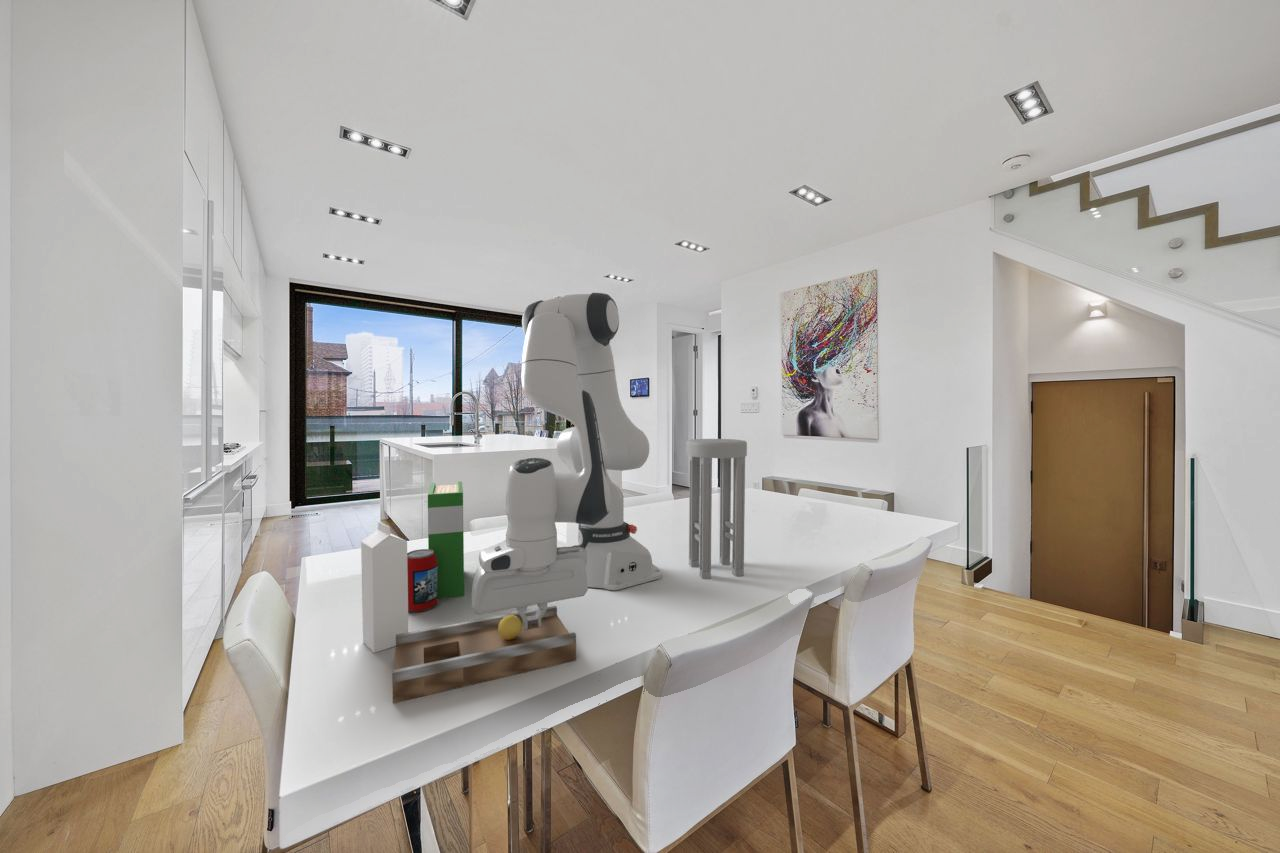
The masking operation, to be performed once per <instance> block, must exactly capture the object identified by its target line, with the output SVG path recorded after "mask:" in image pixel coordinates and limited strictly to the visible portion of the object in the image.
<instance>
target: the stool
mask: <svg viewBox="0 0 1280 853" xmlns="http://www.w3.org/2000/svg"><path fill="white" fill-rule="evenodd" d="M685 450H686V453H685V455H686V456H689V486H688V487H689V490H688V491H689V494H688V495H689V496H688V497H689V498H688V499H689V506H688V507H689V509H688V510H689V511H688V514H689V515H688V516H689V517H688V523H689V524H688V566H690V567H691V568H695V567H699V577H700V578H701V579H702V580H705V579H712V508H713V507H712V505H713V504H712V500H713V499H712V498H713V497H712V496H713V495H712V494H713V492H712V491H713V489H712V488H713V459H720V467H719V468H720V470H719V471H720V474H719V476H720V478H719V480H720V481H719V485H720V487H719V489H720V490H719V492H720V493H719V558H718V559H719V562H718V563H719V564H721V565H722V566H723V565H724V566H726V565H731V564H732V565H731V567H732V568H731V570H732V571H731V574H732V575H733V576H734V577H743V576H745V573H744V572H745V571H744V570H745V511H746V510H745V502H746V500H745V498H746V497H745V496H746V457H747V456H748V442H747V440H741V439H731V438H694V439H689V440H687V441H686V449H685ZM732 459H733V465H732ZM732 466H733V468H732ZM732 470H733V475H732ZM732 476H733V478H732ZM732 479H733V480H732ZM732 481H733V482H732ZM732 483H733V484H732ZM731 495H732V496H731ZM731 501H732V502H731ZM731 503H732V504H731ZM731 506H732V508H731ZM731 510H732V511H731ZM731 512H732V513H731ZM731 514H732V515H731ZM731 518H732V521H731ZM731 531H732V533H731ZM731 542H732V551H731ZM731 552H732V557H731ZM731 558H732V560H731ZM731 561H732V563H731Z"/></svg>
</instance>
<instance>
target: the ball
mask: <svg viewBox="0 0 1280 853" xmlns="http://www.w3.org/2000/svg"><path fill="white" fill-rule="evenodd" d="M521 629H522V623H521V620H520V619H519V618H518V617H517V616H515V615H508V616H505V617H504V618H503V619H502V620H501V621H500V623H499V626H498V631H499V634H500V636H501V637H502V638H504V639H507V640H511V639H514V638H516V637H517V636H518V635H519V634H520V632H521Z"/></svg>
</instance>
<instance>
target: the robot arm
mask: <svg viewBox="0 0 1280 853" xmlns="http://www.w3.org/2000/svg"><path fill="white" fill-rule="evenodd" d="M619 316H620V315H619V310H618V306H617V304H616V301H615V300H614V299H613V298H612V297H611V296H610V294H607V293H603V292H591V293H577V294H568V295H564V296H560V297H554V298H550V299H546V300H538V301H535V302H532V303H531V304H529V305H528V306H526V307H525V310H524V312H523V314H522V317H521V318H522V319H521V327H522V331H523V334H524V342H523V347H522V359H521V360H522V361H521V374H520V375H521V377H520V378H521V387H522V391H523V393H524V395H525V396H526V399H527V400H529V402H531V403H532V405H534V406H536V407H538V409H541V410H543V411H545V412H547V413H550V414H553V415H555V416H559V417H561V418H562V419H565V420H567V421H568V422H570V423H571V424H572V425H573V426H571V427H568V428H565V429H564V430H562V431H561V433H560V434H559V436H558V438H557V441H556V451H557V455H558V458H559V460H560V461H561V462H563V464H564V465H566V466H567V468H568V469H569V471H570V472H555V468H554V465H553V463H552V461H550V460H549V459H546V458H543V457H542V458H539V457H529V458H524V459H520V460H519V459H518V460H517V461H515V462H513V463H512V464H511V465H510V467H509V470H508V474H507V482H506V491H505V514H506V517H507V529H506V533H505V540H502V541H501V542H498V543H496V544H494V545H491V546H488V547H487V548H484V549H482V550H480V552H479V555H478V561H479V564H480V565H479V566H478V567H477V568H476V570H475V572H474V575H473V580H472V585H471V586H472V588H471V600H470V601H471V607H472V610H473V611H474V613H475V614H477V615H484V614H490V613H496V612H502V611H506V610H507V611H508V610H513V609H516V611H517V613H519V614H520V616H521V617H522V619H523V629H524V630H529V629H534V628H540V627H541V618H542V617H543V615H544V613H545V611H546V610H547V607H548V603H553V602H557V601H563V600H569V599H575V598H576V599H577V598H580V597H582V598H583V597H585V596H586V594H587V593H588V591H589V588H594V589H595V588H596V589H597V588H598V589H605V590H609V591H618V590H622V589H626V588H630V587H634V586H637V585H641V584H644V583H648V582H652V581H655V580H656V581H657V580H659V579H662V571H661V569H660V568H659V567H658V566H656V565H655V564H653V559H652V554H651V552H650V551H649V549H648V548H647V547H646V546H644V545H643V544H642V543H640V542H639V541H637V540H636V539H635V538H634V537H632V536H631V534H633V535H635V534H637V532H638V527H637V526H636V525H634V524H630V523H628V522H625V521H624V514H625V513H624V507H625V506H624V502H625V501H624V500H625V499H624V494H623V490H622V489H621V488H620V487H619V486H618V485H616V484H615V482H613V481H612V480H611V478H610V476H609V474H608V471H609V470H611V471H629V470H630V471H631V470H635V469H640V468H642V467H643V465H645V463H646V461H648V458H649V455H650V442H649V439H648V436H647V435H646V434H645V432H644V431H643V430H641V429H640V428H638V427H637V426H636V425H635V424H634V422H632V420H631V419H630V417H628V415H627V413H626V411H625V410H624V407H623V405H622V403H621V400H620V396H619V395H620V394H619V390H618V383H617V376H616V369H615V368H616V366H615V361H614V355H613V352H612V351H613V350H612V346H611V340H613V339H614V338H615V336H616V334H617V332H618V331H619V327H620V317H619ZM607 470H608V471H607ZM556 523H571V524H573V523H575V524H578V530H577V542H578V545H572V546H561V547H558V532H557V531H558V530H557V528H556ZM535 605H537V607H538V608H537V609H538V610H537V612H536V614H535V615H533V616H528V617H526V615H525V614H524V612H526V611H528V610H527V607H529V606H535Z"/></svg>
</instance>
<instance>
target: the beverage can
mask: <svg viewBox="0 0 1280 853" xmlns="http://www.w3.org/2000/svg"><path fill="white" fill-rule="evenodd" d="M407 570H408V612H412V613H420V612H424V611H428V610H430V609H432V608H434V606H436V604H437V603H438V600H439V599H438V578H437V557H436V556H435V554H434V551H433V550H430V549H428V548H423V549H415V550H411V551H409V552H408V551H407Z"/></svg>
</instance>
